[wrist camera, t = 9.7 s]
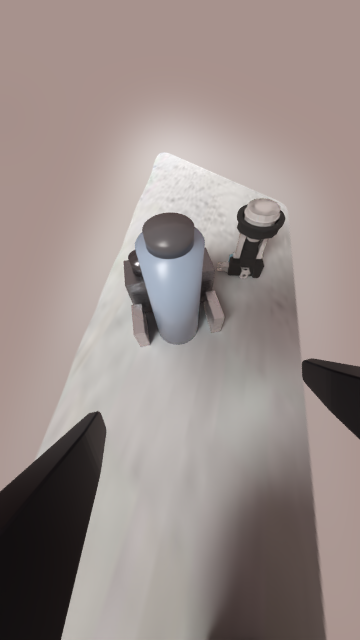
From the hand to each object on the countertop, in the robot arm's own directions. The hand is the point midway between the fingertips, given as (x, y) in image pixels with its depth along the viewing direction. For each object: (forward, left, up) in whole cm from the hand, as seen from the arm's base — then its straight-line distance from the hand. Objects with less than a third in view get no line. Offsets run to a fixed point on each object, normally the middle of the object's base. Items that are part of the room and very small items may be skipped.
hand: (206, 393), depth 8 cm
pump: (+11, 0, -14) cm, 17 cm away
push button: (+18, -11, -14) cm, 26 cm away
